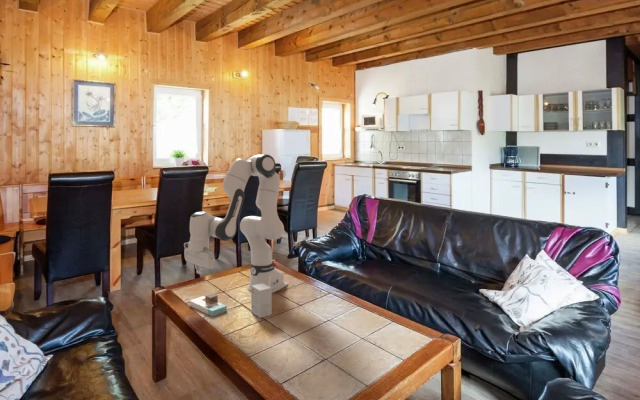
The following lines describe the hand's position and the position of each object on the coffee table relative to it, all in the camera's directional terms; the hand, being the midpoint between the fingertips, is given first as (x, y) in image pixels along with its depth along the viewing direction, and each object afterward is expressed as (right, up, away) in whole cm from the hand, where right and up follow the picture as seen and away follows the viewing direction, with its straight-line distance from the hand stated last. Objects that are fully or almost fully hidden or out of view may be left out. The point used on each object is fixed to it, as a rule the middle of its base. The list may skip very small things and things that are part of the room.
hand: (199, 273), depth 198 cm
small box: (+31, -17, -8) cm, 36 cm away
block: (+6, -13, -3) cm, 15 cm away
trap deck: (+5, -16, -4) cm, 17 cm away
